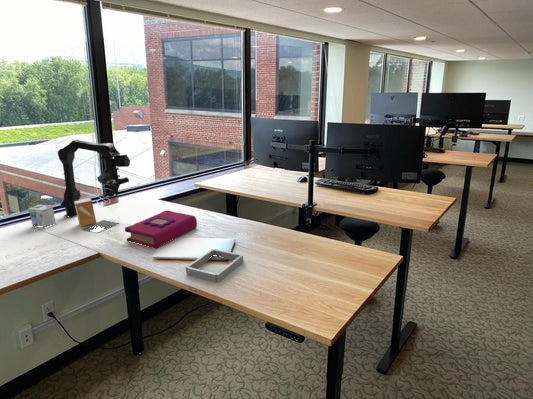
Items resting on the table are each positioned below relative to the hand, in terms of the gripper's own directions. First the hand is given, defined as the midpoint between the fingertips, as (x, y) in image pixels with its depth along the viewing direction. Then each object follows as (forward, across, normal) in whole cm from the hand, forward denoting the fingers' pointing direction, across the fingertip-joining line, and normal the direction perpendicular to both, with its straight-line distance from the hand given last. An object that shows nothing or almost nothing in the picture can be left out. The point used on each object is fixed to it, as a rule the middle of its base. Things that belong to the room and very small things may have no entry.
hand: (115, 194), depth 216 cm
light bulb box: (+13, -28, -27) cm, 41 cm away
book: (+14, +43, -11) cm, 46 cm away
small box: (+13, -6, -16) cm, 22 cm away
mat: (+13, +4, -16) cm, 21 cm away
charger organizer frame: (+13, +88, -29) cm, 94 cm away
